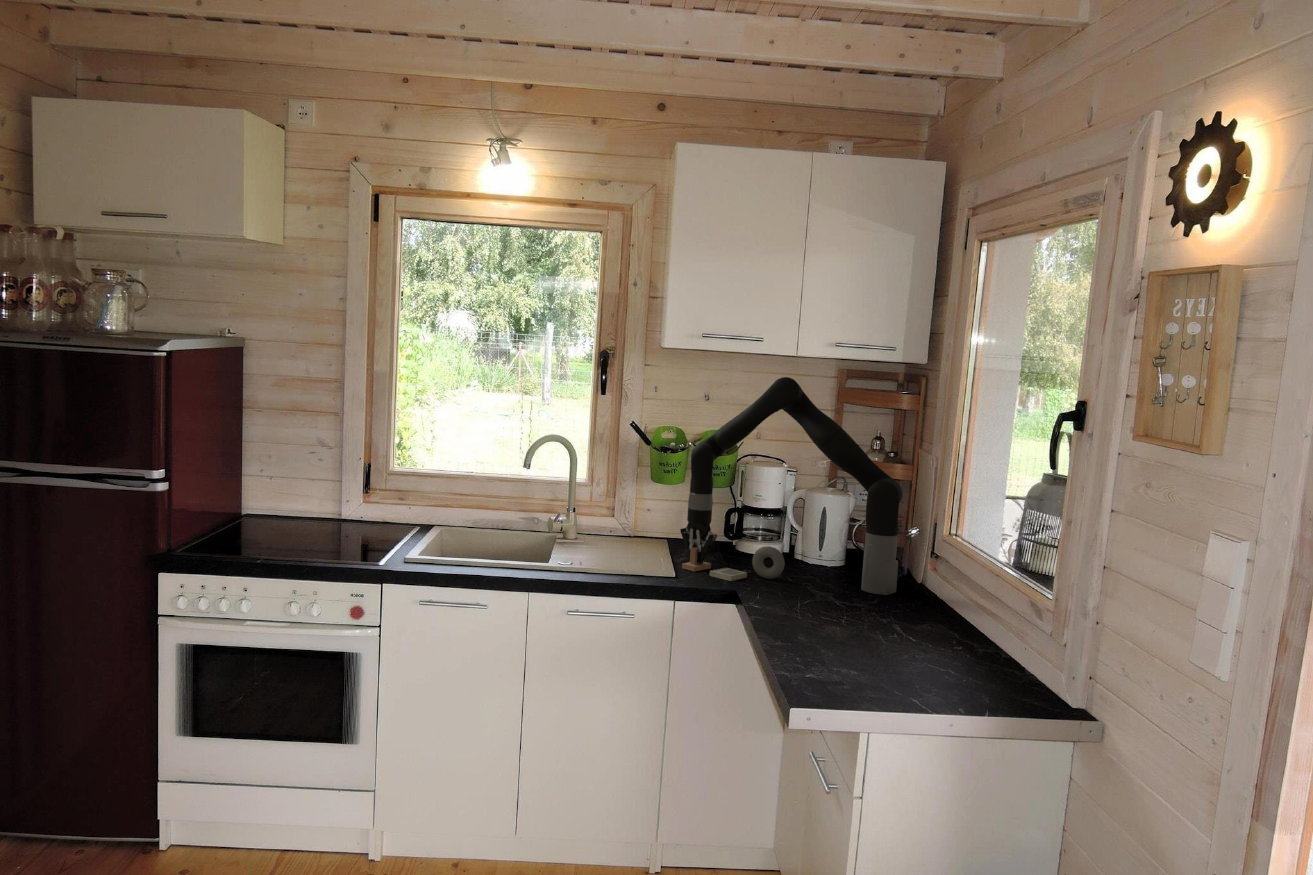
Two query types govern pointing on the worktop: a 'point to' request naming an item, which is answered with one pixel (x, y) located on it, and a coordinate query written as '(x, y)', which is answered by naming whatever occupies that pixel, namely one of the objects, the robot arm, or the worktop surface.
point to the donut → (761, 568)
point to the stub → (695, 562)
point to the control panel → (728, 574)
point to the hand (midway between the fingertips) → (696, 562)
